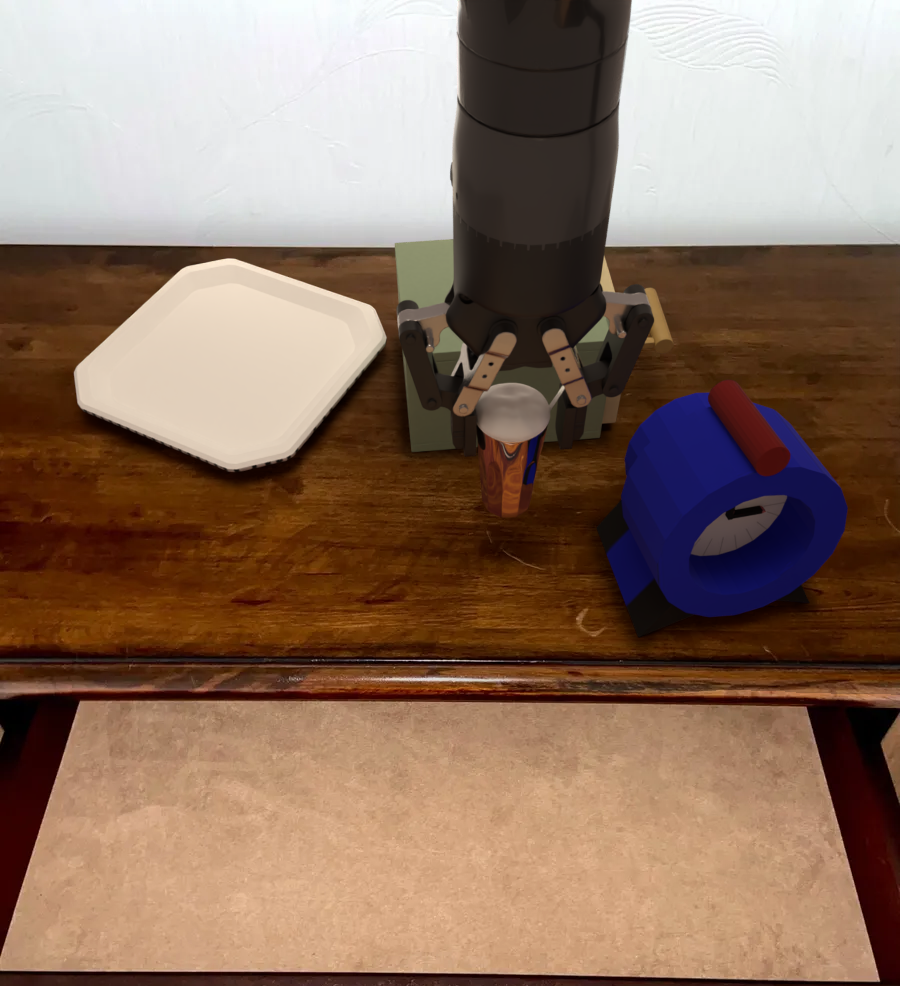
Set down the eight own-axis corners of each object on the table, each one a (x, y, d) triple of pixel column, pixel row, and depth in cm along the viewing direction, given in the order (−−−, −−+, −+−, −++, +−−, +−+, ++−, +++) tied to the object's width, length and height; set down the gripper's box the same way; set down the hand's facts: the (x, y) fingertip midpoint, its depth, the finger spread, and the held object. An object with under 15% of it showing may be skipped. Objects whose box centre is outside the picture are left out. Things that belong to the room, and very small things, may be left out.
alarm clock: (641, 645, 62) (684, 496, 50) (587, 505, 69) (614, 344, 57) (814, 612, 64) (898, 459, 51) (745, 478, 71) (805, 315, 58)
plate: (55, 412, 75) (45, 391, 74) (208, 267, 86) (203, 245, 84) (271, 502, 70) (266, 482, 68) (407, 336, 80) (406, 314, 78)
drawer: (639, 321, 79) (655, 240, 73) (669, 419, 73) (689, 338, 66) (429, 336, 79) (426, 255, 72) (441, 436, 72) (438, 356, 66)
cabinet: (573, 330, 80) (585, 229, 72) (599, 438, 73) (616, 339, 65) (401, 342, 80) (394, 242, 72) (411, 452, 72) (404, 354, 65)
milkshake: (557, 523, 62) (572, 411, 53) (476, 529, 62) (478, 417, 53) (547, 471, 64) (560, 357, 56) (469, 476, 64) (470, 362, 56)
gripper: (383, 249, 42) (404, 498, 56) (701, 227, 43) (643, 479, 57) (375, 156, 46) (396, 409, 60) (665, 137, 47) (619, 392, 61)
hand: (516, 442), depth 58 cm, fingers closed on milkshake, 5 cm apart
